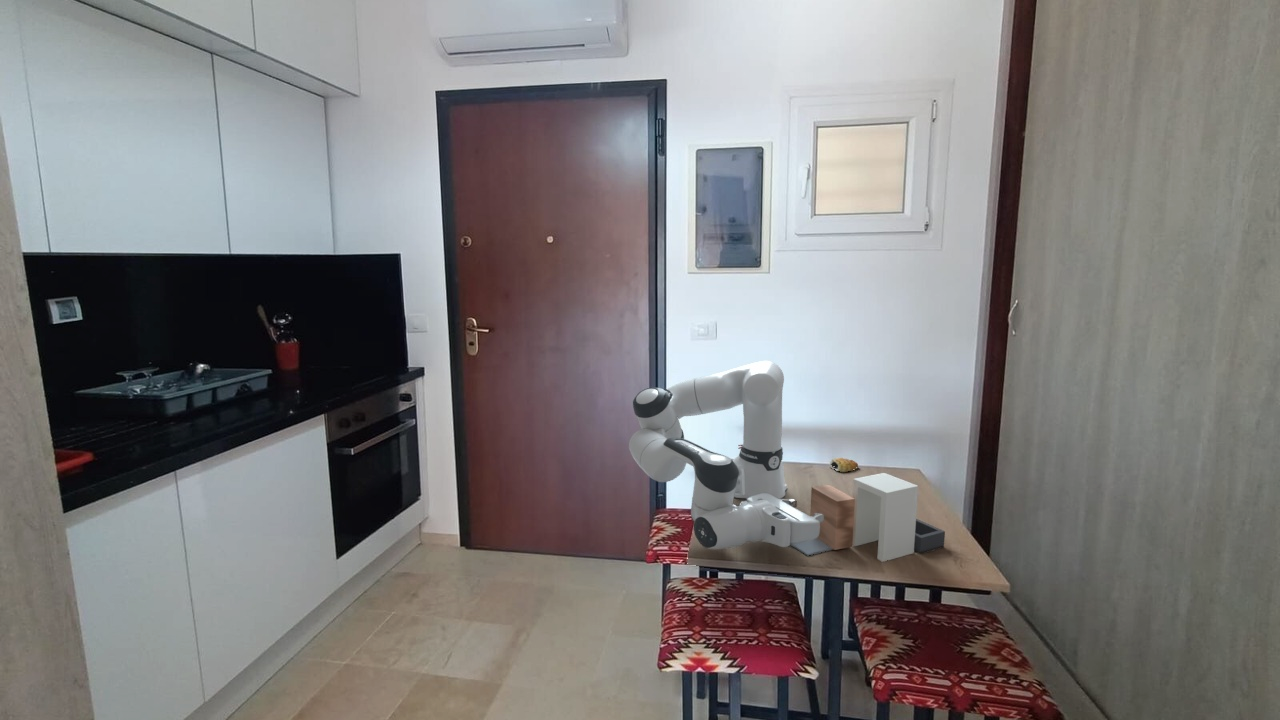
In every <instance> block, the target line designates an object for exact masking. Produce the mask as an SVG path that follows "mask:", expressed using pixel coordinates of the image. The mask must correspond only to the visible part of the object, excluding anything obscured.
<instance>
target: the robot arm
mask: <svg viewBox="0 0 1280 720" xmlns="http://www.w3.org/2000/svg"><path fill="white" fill-rule="evenodd" d="M784 382H785V377H784V373H783V370H782V369H781V367H780V366H779V365H778V364H777V363H775V362H772V361H769V360H761V361H758V362H757V361H756V362H753V363H750V364H745V365H742V366H739V367H736V368H732V369H729V370H726V371H721V372H718V373H713V374H710V375H704V376H701V377H696V378H691V379H688V380H685V381H681V382H679V383H677V384H674V385H672V386H670V387H668V388H667V389H666V388H662V387H649V388H644V389H642V390H641V391H639V392H638V393H637V394H636V396H635V397H634V399H633V400H632V408H633V412H634V414H635V416H636V418H637V421H638V424H639V426H640V429H639V430H637V431H635V432H634V433H632V436H631V437H630V439H629V441H628V442H629V443H628V449H629V453H630V455H631V456H632V458H633V459H634V461H635V462H636V464H637V465H638V467H639V468H640V469H641V470H642V471H643V472H644V473H645V474H646V475H647V476H648V477H649V478H651V479H652V480H654V481H655V482H659V483H668V482H671V481H673V480H676V479H677V478H678V477H679V476H681V474H682V473H683V472H684V471H685V469H686V466H687V465H690V466H691V467H693V470H694V471H693V472H694V483H693V484H694V485H693V491H692V498H691V507H690V518H691V519H692V521H693V532H694V536H695V538H696V539H697V542H698V543H699V544H700V545H701V546H702V547H703V548H704V549H709V550H723V549H725V550H726V549H730V548H735V547H740V546H742V545H744V544H745V543H749V542H750V543H757V542H762V543H768V544H772V545H775V546H778V547H779V548H788V547H789V546H791V545H790V542H791V543H800V542H805V541H809V540H812V539H815V538H817V537H818V536H819V534H820V522H823V520H824V515H822V514H820V513H814V517H812V516H810V514H807V513H805V512H803V511H801V510H799V509H798V508H797V507H798V504H797V503H798V501H797V500H795V499H793V498H789V499H786V498H784V497H785V496H786V490H788V484H787V483H786V482H785V467H784V462H783V455H784V451H783V450H784V449H783V447H782V434H783V433H782V432H783V431H782V430H783V388H784ZM741 405H742V411H743V443H742V444H738V447H737V448H738V449H739V450H740V451H739V454H738V455H737V456H736V457H735V458H734V459H732V458H731V457H729V456H727V455H724V454H721V453H718V452H715V451H711V450H709V449H708V448H705V447H703V446H701V445H699V444H696V443H695V442H692V441H690V440H688V439H686V438H685V434H684V431H683V429H682V426H681V424H680V419H682V418H683V417H691V416H692V417H694V416H701V415H706V414H711V413H715V412H716V413H717V412H721V411H725V410H730V409H733V408H735V407H738V406H741ZM734 498H736V499H746V500H743V501H741V502H740V503H739V505H738V506H737V505H736V504H734V500H735V499H734Z"/></svg>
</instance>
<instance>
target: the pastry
mask: <svg viewBox="0 0 1280 720" xmlns="http://www.w3.org/2000/svg"><path fill="white" fill-rule="evenodd" d="M829 465H832V468H834V469H835V470H836V472H837V471H840V472H839V473H846V472H848V471H851V472H854V471H853V469H857V468H856V467H858V468H859V464H858V463H857V462H856V461H855V460H852V459H848V458H843V457H840V458H833V459H831V461H830V462H829V463H828V466H829ZM833 466H835V467H833ZM835 470H834V471H835ZM857 470H858V469H857Z"/></svg>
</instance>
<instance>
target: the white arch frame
mask: <svg viewBox="0 0 1280 720" xmlns="http://www.w3.org/2000/svg"><path fill="white" fill-rule="evenodd" d="M852 483H853V484H852V497H853V498H854V499H855V507H854V525H853V544H852V547H858V546H862V545H865V544H868V543H872V542H876V541H877V542H878V544H877V545H878V546H877V560H878V561H880V562H882V563H884V562H887V560H888V561H891V560H894V559H897V558H901V557H905V556H908V555H911V554H914V553H915V551H914V542H915V527H916V519H917V513H918V512H917V511H918V510H917V509H918V500H919V499H918V497H919V495H918V494H919V485H917V484H914V483H912V482H909V481H907V480H904V479H902V478H899V477H895V476H893V475H891V474H888V473H886V472H881V473H877V474H871V475H866V476H862V477H861V476H860V477H856V478H853V481H852ZM883 561H884V562H883Z"/></svg>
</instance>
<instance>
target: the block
mask: <svg viewBox="0 0 1280 720" xmlns="http://www.w3.org/2000/svg"><path fill="white" fill-rule="evenodd" d="M810 489H811V491H810V492H811V493H810V511H809V512H810V514H809V516H812V517H814V513H820V514H822V515H824V520H823V522H820V534H819V536H818V537H817V538H818V539H820V540H821V541H823V542H824V543H826V544H827V545H828V546H830V547H831V548H833V550H834V551H835V550H841V549H848V548H852V547H853V545H852V544H853V525H854V507H855V499H854V498H853V496H852V495H849V494H847V493H845V492H843V491H842V490H840V489H837V488H835V487H834V486H832V485H830V484H823V485H822V484H821V485H816V486H811V488H810Z"/></svg>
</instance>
